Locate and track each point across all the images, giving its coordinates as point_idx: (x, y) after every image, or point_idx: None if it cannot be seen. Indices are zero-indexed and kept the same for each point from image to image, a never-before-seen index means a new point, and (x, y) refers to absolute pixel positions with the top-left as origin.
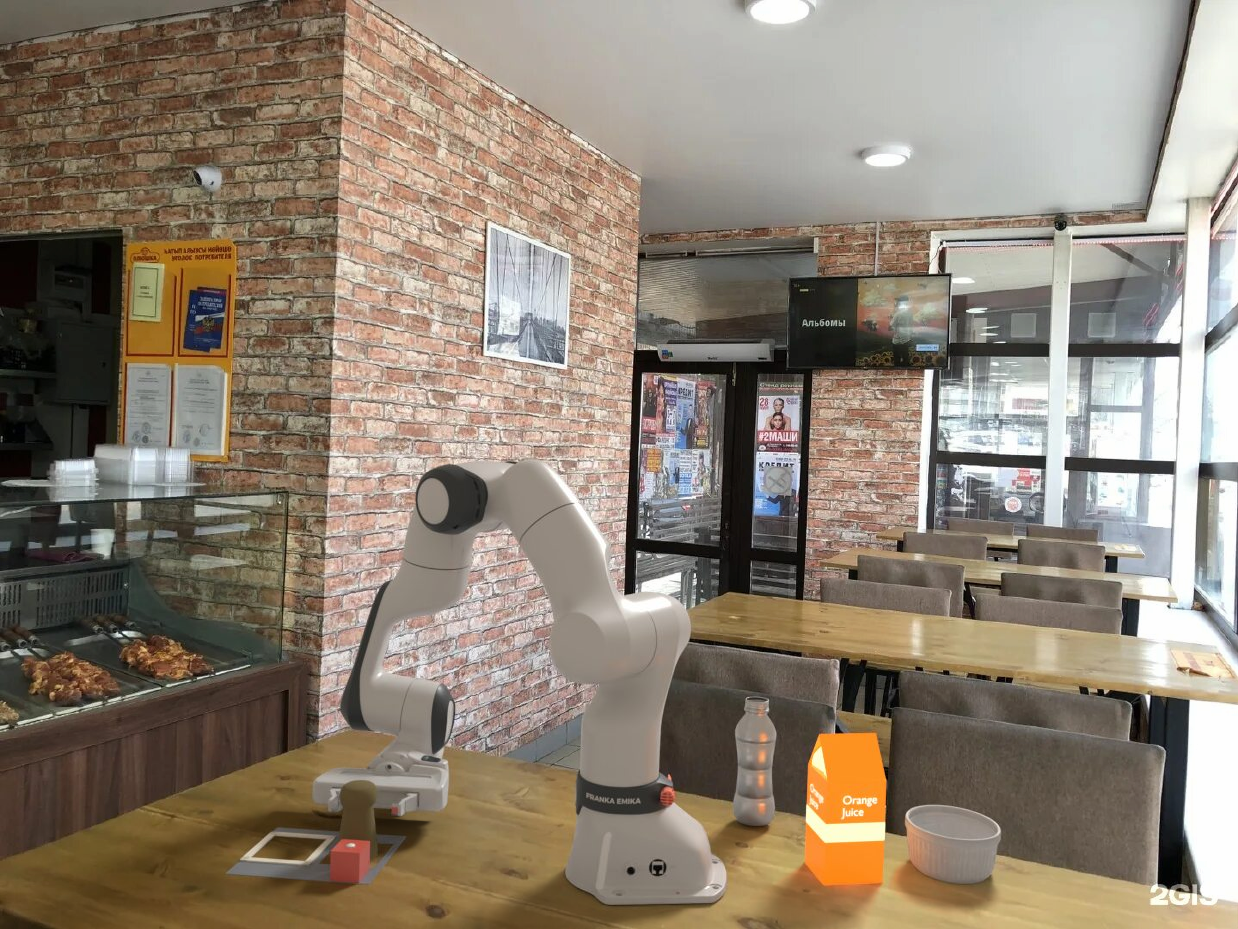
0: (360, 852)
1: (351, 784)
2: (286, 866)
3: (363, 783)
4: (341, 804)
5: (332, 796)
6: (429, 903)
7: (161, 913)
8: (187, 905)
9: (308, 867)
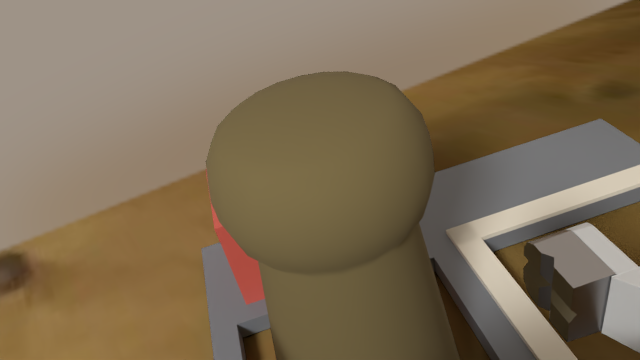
0: (206, 172)
1: (330, 77)
2: (505, 202)
3: (268, 105)
4: (563, 314)
5: (627, 257)
6: (25, 290)
7: (540, 48)
8: (533, 71)
9: (439, 228)
